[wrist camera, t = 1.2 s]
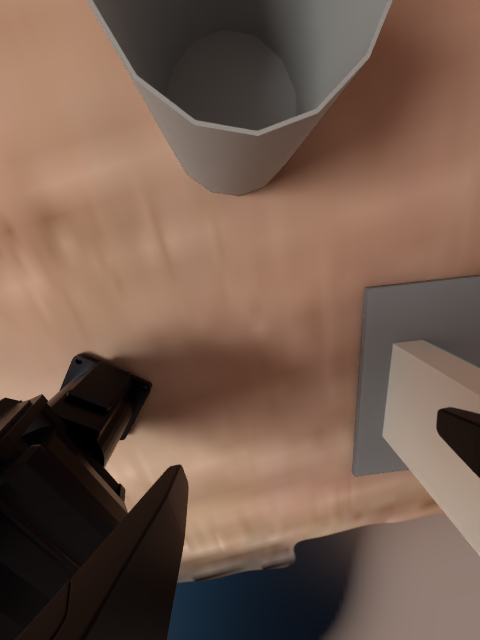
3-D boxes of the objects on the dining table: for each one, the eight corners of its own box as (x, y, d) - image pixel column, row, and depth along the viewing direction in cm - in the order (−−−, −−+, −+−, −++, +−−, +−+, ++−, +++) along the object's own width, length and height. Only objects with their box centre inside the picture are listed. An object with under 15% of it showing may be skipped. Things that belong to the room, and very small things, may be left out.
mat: (352, 472, 26) (354, 476, 25) (365, 287, 19) (368, 288, 19) (531, 448, 26) (537, 452, 26) (601, 261, 20) (611, 262, 19)
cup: (162, 185, 16) (75, 104, 7) (165, 23, 14) (32, -474, 4) (284, 202, 17) (361, 153, 7) (308, 53, 14) (469, -304, 5)
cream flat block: (382, 435, 24) (530, 618, 12) (393, 343, 20) (606, 471, 9) (411, 432, 24) (586, 609, 12) (427, 339, 20) (681, 461, 9)
